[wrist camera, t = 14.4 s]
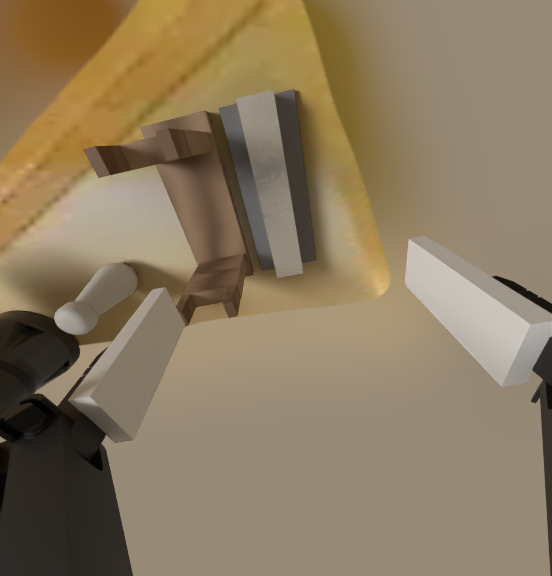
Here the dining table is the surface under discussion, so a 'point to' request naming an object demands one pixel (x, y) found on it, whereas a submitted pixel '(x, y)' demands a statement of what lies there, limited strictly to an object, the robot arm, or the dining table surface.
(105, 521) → the robot arm
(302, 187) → the rubber mat
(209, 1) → the dining table surface
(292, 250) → the metal rail
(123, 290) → the salt shaker
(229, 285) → the bracket stand
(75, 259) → the dining table surface
